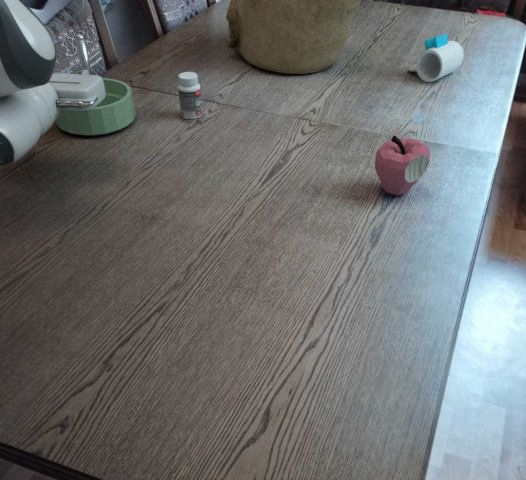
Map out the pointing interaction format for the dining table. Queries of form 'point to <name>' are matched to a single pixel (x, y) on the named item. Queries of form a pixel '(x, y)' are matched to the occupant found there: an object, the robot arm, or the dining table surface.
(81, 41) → the metal stand
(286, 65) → the ceramic vessel
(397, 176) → the apple
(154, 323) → the dining table surface
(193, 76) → the pill bottle
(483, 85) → the dining table surface
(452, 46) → the mug
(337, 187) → the dining table surface
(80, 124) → the bowl
